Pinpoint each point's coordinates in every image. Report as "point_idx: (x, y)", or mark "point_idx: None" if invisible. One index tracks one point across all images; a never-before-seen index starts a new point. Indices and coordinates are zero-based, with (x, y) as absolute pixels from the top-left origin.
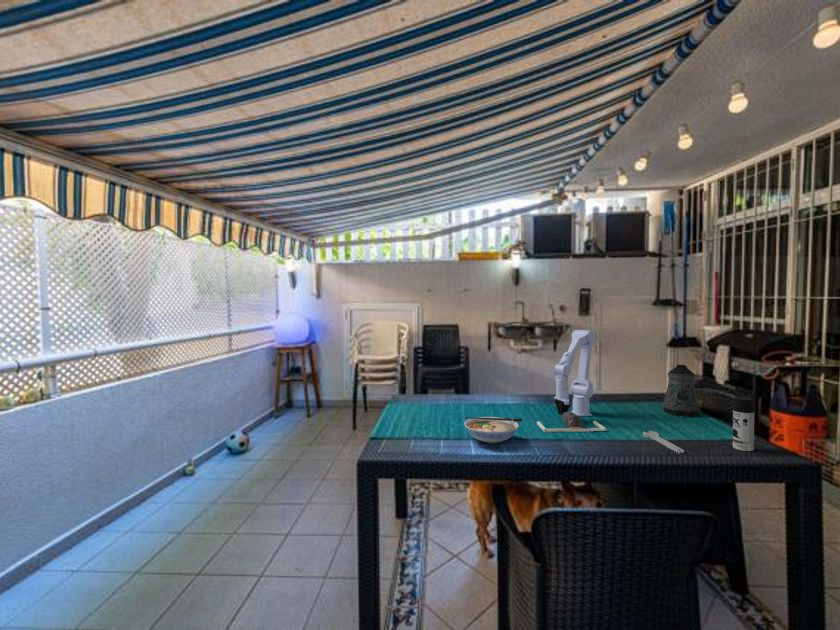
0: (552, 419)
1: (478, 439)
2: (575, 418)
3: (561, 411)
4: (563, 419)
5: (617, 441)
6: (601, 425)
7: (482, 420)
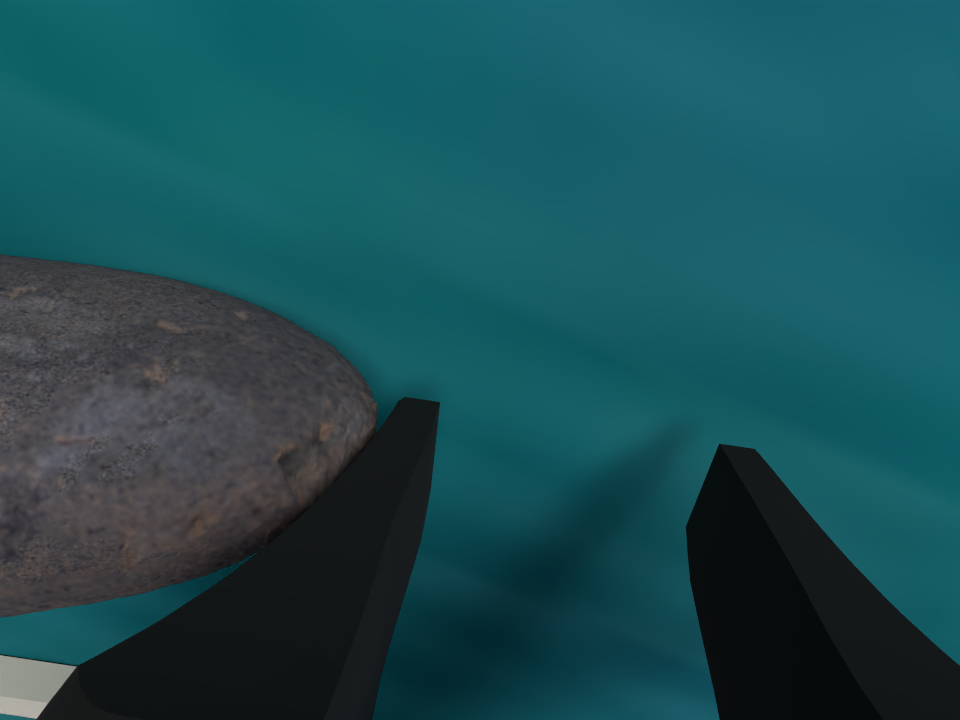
0: (741, 207)
1: None
2: None
3: (322, 499)
4: (22, 296)
5: None
6: None
7: None
